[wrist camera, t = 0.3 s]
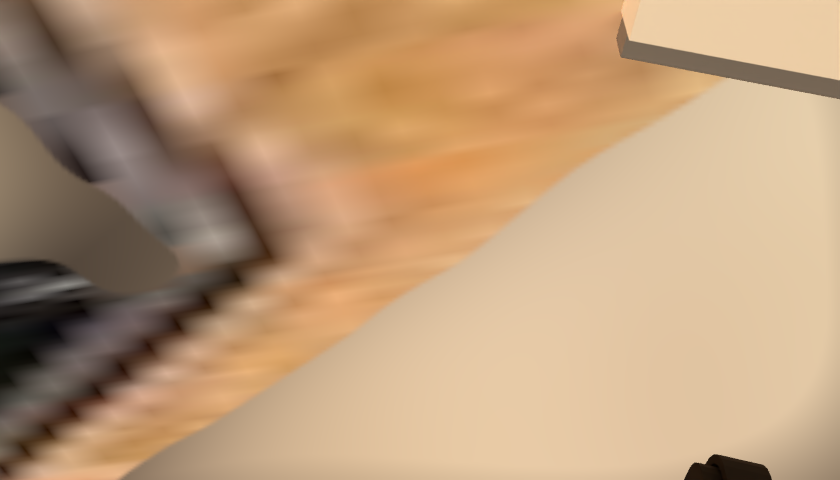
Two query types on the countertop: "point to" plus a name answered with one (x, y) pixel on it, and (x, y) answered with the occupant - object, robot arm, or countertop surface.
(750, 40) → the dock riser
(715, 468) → the robot arm
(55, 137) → the countertop surface
